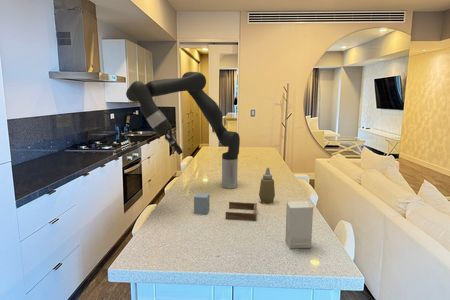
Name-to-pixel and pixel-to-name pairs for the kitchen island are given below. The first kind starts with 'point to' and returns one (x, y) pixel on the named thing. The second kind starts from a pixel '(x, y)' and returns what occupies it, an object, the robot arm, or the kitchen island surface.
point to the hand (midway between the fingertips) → (180, 152)
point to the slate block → (201, 203)
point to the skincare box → (299, 224)
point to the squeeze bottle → (267, 188)
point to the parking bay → (242, 215)
